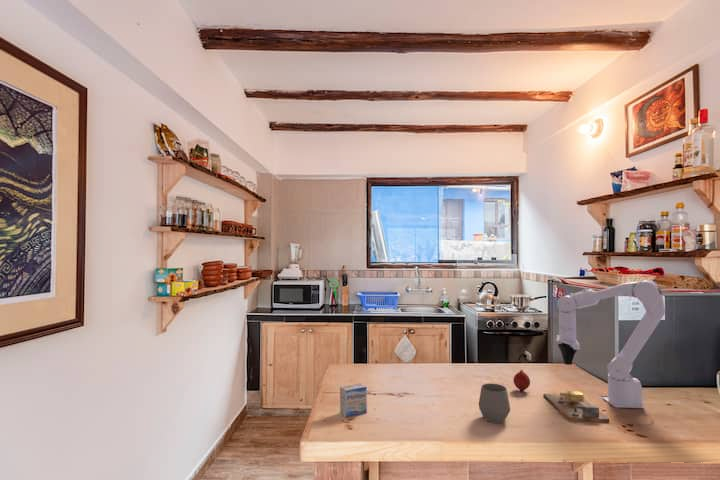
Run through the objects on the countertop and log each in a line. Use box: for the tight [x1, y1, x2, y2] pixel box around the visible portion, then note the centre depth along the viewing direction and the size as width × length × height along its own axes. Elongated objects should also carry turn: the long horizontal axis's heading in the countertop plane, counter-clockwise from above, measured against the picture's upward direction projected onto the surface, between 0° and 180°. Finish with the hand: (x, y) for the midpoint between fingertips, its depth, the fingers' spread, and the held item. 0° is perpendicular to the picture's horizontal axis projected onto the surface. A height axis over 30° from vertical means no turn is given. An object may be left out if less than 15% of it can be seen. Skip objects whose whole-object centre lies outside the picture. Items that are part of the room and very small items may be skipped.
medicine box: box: [339, 383, 368, 419], centre depth 128 cm, size 8×4×9 cm, turn 118°
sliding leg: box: [559, 390, 585, 402], centre depth 133 cm, size 7×3×2 cm, turn 86°
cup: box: [478, 382, 511, 424], centre depth 123 cm, size 10×9×10 cm
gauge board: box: [543, 393, 610, 423], centre depth 131 cm, size 12×20×4 cm, turn 176°
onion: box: [513, 369, 531, 392], centre depth 147 cm, size 6×6×8 cm
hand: (567, 364), depth 146 cm, fingers closed
